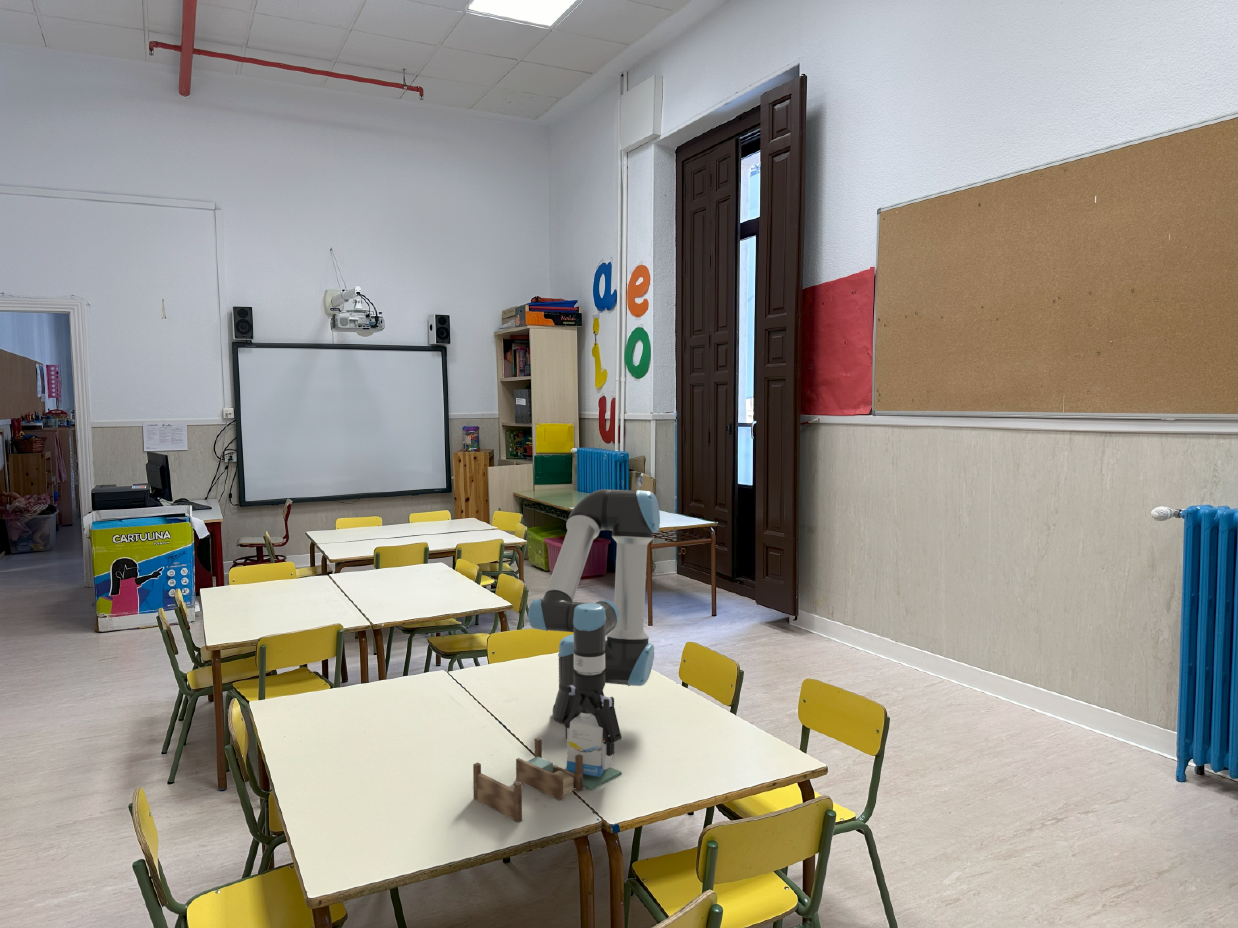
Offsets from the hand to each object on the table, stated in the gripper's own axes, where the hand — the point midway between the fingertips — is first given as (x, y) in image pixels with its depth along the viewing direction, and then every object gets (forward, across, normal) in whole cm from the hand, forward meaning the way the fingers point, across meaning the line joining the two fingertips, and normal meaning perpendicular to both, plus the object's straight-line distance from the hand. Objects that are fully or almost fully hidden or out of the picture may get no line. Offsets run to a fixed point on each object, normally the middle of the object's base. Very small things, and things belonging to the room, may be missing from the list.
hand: (589, 760), depth 192 cm
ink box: (+2, 0, 0) cm, 2 cm away
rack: (+3, -4, -16) cm, 17 cm away
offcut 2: (+4, 0, -10) cm, 11 cm away
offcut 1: (+1, -7, -10) cm, 12 cm away
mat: (+4, 0, 0) cm, 4 cm away
